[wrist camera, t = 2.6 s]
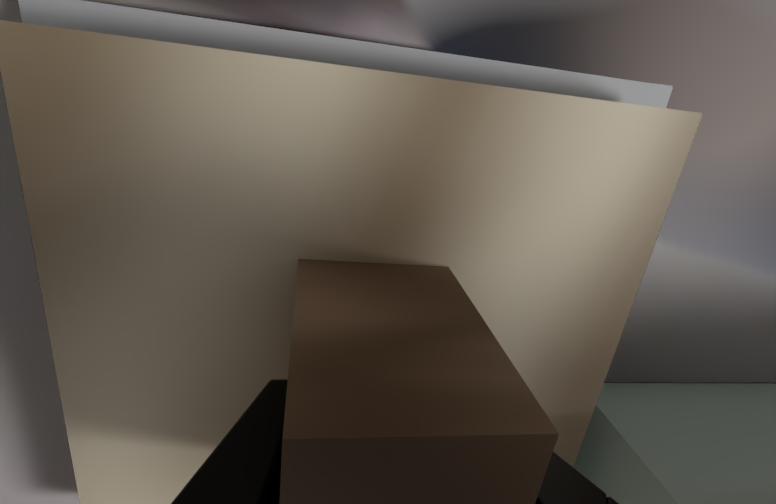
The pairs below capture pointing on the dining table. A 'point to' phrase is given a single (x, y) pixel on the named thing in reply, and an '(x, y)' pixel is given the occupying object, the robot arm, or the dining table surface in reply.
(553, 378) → the lid
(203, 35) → the mat
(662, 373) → the dining table surface
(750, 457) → the dish
